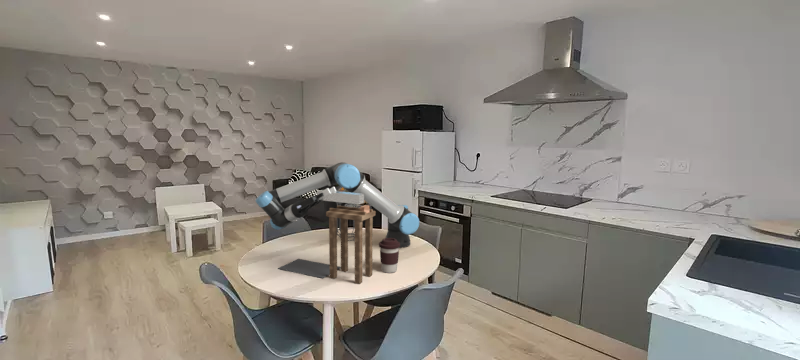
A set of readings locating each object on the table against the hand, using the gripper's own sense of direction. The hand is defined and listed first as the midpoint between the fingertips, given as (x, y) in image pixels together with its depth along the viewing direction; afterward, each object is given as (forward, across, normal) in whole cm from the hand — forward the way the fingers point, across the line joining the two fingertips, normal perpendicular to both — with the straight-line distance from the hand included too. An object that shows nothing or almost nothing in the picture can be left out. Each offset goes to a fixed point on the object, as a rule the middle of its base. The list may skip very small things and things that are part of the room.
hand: (332, 190), depth 168 cm
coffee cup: (-1, -15, -45) cm, 47 cm away
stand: (-11, 0, -38) cm, 40 cm away
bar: (+1, 0, -6) cm, 6 cm away
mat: (-31, 0, -27) cm, 41 cm away
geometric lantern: (-40, -49, -22) cm, 67 cm away
